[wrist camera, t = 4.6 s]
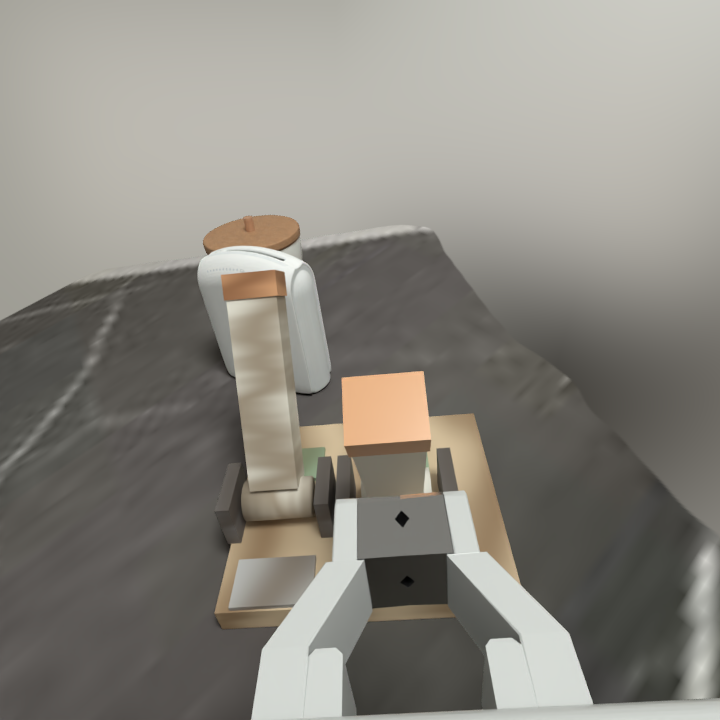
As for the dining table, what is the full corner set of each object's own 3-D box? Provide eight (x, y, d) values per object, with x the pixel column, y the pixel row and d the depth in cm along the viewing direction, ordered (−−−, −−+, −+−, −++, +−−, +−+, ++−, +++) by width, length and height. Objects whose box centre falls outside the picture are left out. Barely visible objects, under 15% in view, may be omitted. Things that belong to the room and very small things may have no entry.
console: (218, 629, 27) (105, 411, 18) (261, 445, 39) (203, 256, 30) (521, 613, 26) (556, 375, 17) (473, 429, 38) (479, 229, 29)
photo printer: (221, 378, 47) (180, 254, 40) (249, 353, 50) (215, 233, 43) (315, 402, 42) (287, 267, 35) (339, 373, 45) (318, 243, 38)
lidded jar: (283, 266, 66) (268, 195, 61) (327, 292, 59) (314, 213, 54) (207, 294, 62) (184, 220, 56) (244, 326, 54) (221, 244, 49)
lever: (365, 518, 30) (329, 447, 17) (363, 475, 32) (328, 378, 19) (432, 514, 30) (445, 438, 17) (427, 471, 31) (437, 369, 18)
